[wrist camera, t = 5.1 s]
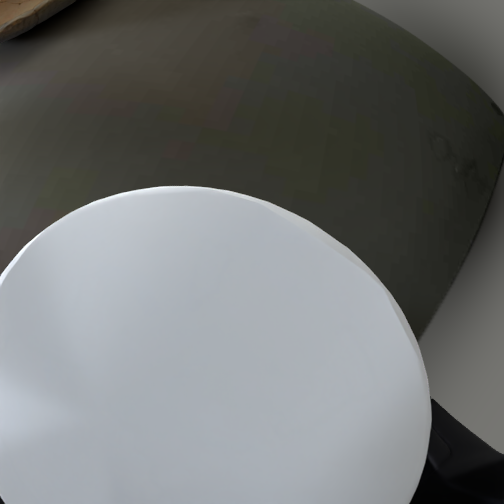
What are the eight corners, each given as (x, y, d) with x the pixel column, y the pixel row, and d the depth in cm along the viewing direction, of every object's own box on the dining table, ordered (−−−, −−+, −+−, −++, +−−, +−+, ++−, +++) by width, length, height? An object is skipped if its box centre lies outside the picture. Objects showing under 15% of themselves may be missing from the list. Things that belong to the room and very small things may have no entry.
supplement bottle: (238, 269, 16) (271, 34, 3) (315, 377, 14) (549, 431, 2) (127, 341, 14) (-110, 301, 2) (203, 451, 13) (152, 666, 1)
